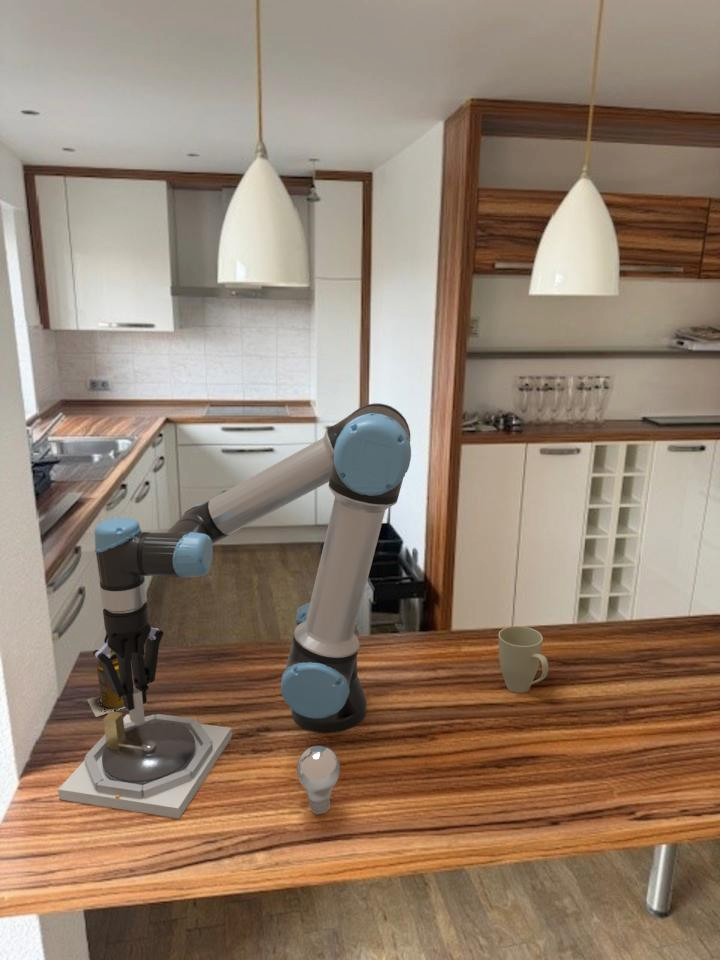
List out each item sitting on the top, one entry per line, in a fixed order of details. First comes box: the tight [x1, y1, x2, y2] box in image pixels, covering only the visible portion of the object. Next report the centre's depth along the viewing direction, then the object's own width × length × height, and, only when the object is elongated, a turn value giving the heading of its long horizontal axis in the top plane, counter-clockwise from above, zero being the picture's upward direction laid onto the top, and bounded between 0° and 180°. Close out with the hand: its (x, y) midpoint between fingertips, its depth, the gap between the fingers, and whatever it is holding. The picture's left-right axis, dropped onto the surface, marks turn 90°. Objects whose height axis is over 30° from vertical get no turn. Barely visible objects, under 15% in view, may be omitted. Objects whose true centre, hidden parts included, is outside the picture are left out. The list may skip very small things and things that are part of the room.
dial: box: [102, 711, 196, 785], centre depth 127 cm, size 16×16×7 cm
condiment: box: [86, 649, 126, 718], centre depth 147 cm, size 7×8×12 cm
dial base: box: [57, 713, 233, 819], centre depth 128 cm, size 22×22×4 cm
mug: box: [498, 625, 549, 694], centre depth 150 cm, size 11×10×12 cm
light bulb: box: [296, 744, 341, 816], centre depth 115 cm, size 7×7×12 cm
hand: (137, 721), depth 133 cm, fingers closed
